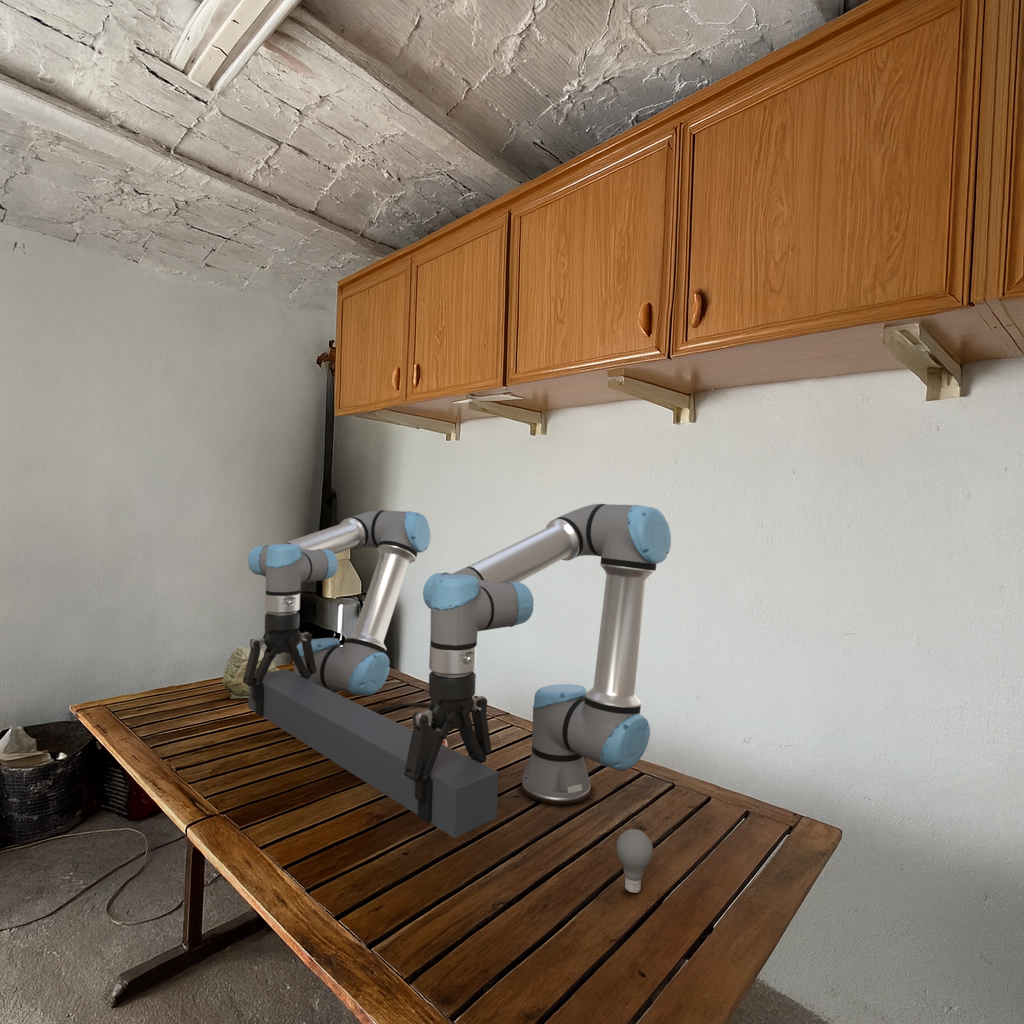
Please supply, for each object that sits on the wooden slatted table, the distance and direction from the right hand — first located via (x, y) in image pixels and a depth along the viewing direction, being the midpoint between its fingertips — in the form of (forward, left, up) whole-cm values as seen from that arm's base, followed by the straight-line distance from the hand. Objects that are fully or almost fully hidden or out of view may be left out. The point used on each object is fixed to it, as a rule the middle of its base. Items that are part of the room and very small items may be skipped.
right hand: (448, 808), depth 103 cm
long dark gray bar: (-3, -30, 0) cm, 30 cm away
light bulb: (-21, +23, -14) cm, 34 cm away
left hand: (-6, -60, 0) cm, 60 cm away
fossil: (-30, -114, -14) cm, 119 cm away
